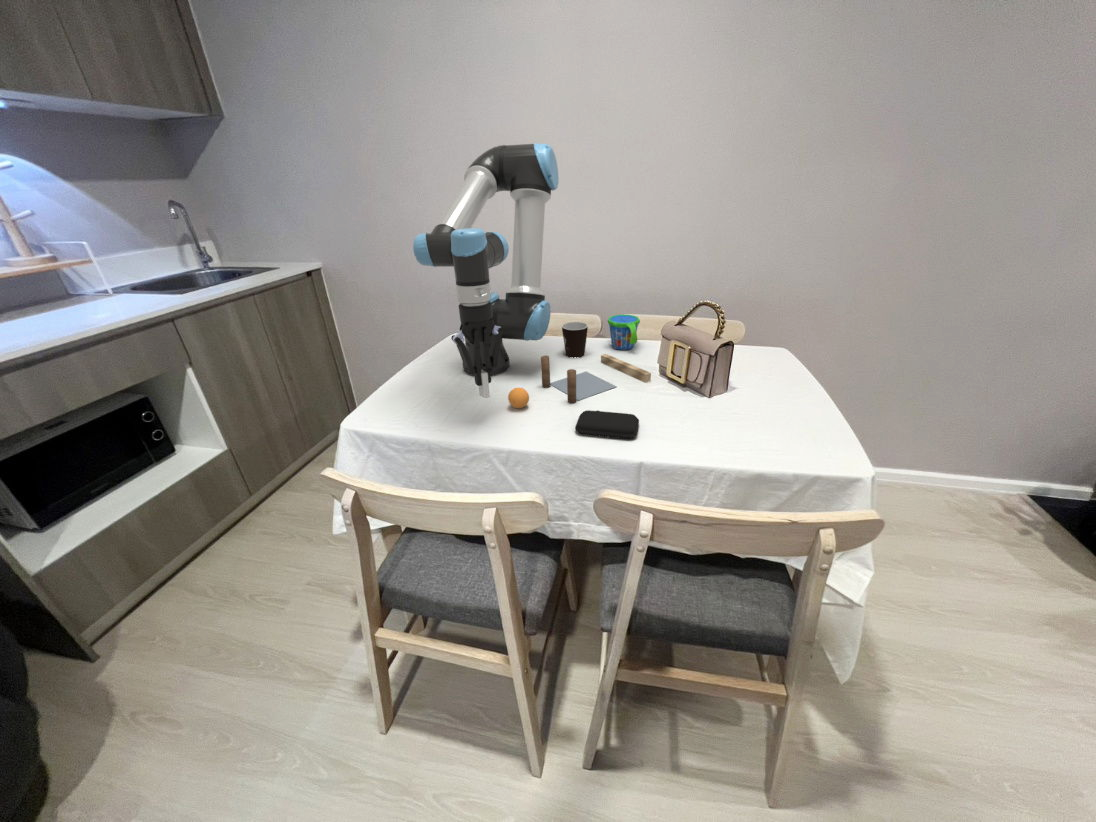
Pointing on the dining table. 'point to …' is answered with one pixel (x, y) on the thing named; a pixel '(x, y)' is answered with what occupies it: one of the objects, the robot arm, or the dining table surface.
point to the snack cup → (623, 331)
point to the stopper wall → (626, 368)
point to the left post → (545, 371)
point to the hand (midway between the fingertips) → (484, 395)
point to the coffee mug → (574, 338)
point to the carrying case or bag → (607, 424)
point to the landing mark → (585, 385)
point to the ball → (518, 397)
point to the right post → (571, 385)
